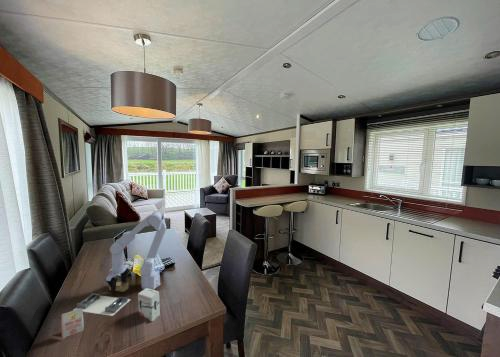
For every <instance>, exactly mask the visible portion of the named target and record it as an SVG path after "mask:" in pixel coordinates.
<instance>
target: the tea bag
mask: <svg viewBox="0 0 500 357" xmlns="http://www.w3.org/2000/svg"><path fill="white" fill-rule="evenodd" d="M83 313H84V312H83V311H82V308H81V309H78V310H71V311H68V312H65V313H62V314H60V316H61V317H60V324H61V325H60V329H61V330H60V331H61V341H64V340H67V339H69V337H70V336H72V335H75V334H78V333H82V332H84V326H85V325H84V324H85V323H84V314H83Z"/></svg>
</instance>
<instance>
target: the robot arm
mask: <svg viewBox="0 0 500 357" xmlns="http://www.w3.org/2000/svg"><path fill="white" fill-rule="evenodd" d="M150 226H152V227H153V228H154V229H155V230H156V231H155V235H154V237H153V240H152V243H151V244H150V245H151V246H150V248H149V251H148V253H147V255H146V258H145V259H144V261H143V263H142V266H141V267H140V269H139V272H140V277H141V279H140V282H141V284H140V285H141V287H140V288H141V289H142V290H144V289H145V288H149V289H152V290H155V289H156V288H157V287H159V286H160V285H161V284H162V283H161V276H160V275H161V274H160V273H159V272H157V271H156V270H155V265H156V257H157V255H158V252H159V248H160V246H161V243H162V241H163V238H164V235H165V232H166V230H167V224H166V221H165V216H164V214H163V213H162V211H159V210H155V211H153V212H151V214H149V215H147V216H146V217H145V218H143V220H141V221H140V222H139V223H138V224H137V225H136V226H135V227H134V228H132V230H129V231H126V232H125V231H124V232H123V233H122V235H121V236H120V237H119V238H118V239H116V240H115V242H114V243H112V244H111V246H110V247H109V252H110V253H111V268H112V269H111V270H110V273H109V274H108V275H107V276H106V277H105V282H106V283H107V284H108V286H110V288H111V290H110V291H112V292H116V291H115V290H116V282H118V278H115V277H117V276H119V275H120V280H121V281H120V282H125V283H127V279H128V277H129V276H128V275H129V274H130V271H131V269H130V264H127V263H126V264H125V253H124V252H125V251H124V249H125V248H126V247H127V246H128V245H130V243H132V242H133V241H134V240H135V238H136V235H137V234H138V233H139V232H141V231H142V230H143V229H144V228H145V227H150Z"/></svg>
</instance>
